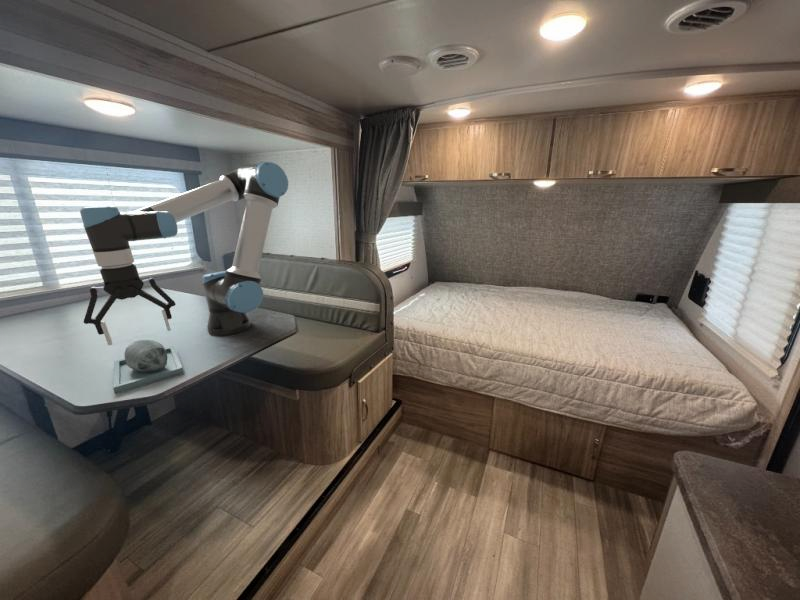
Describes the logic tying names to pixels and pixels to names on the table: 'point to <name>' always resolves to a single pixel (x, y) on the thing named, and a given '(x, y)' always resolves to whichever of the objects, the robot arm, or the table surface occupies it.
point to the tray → (144, 373)
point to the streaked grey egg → (146, 356)
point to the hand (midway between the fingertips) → (141, 336)
